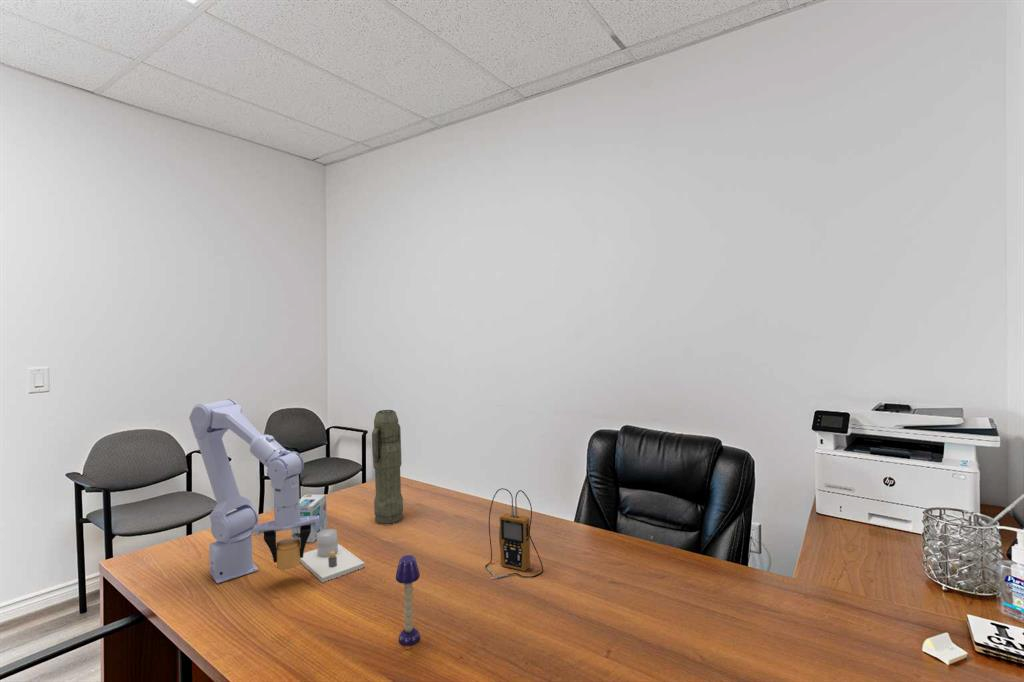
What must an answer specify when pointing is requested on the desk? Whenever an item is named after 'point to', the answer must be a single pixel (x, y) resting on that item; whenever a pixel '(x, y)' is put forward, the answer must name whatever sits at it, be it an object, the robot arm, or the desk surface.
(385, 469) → the thermos
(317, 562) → the plate
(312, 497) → the light bulb box
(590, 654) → the desk surface
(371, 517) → the desk surface
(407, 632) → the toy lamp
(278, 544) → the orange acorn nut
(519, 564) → the multimeter
